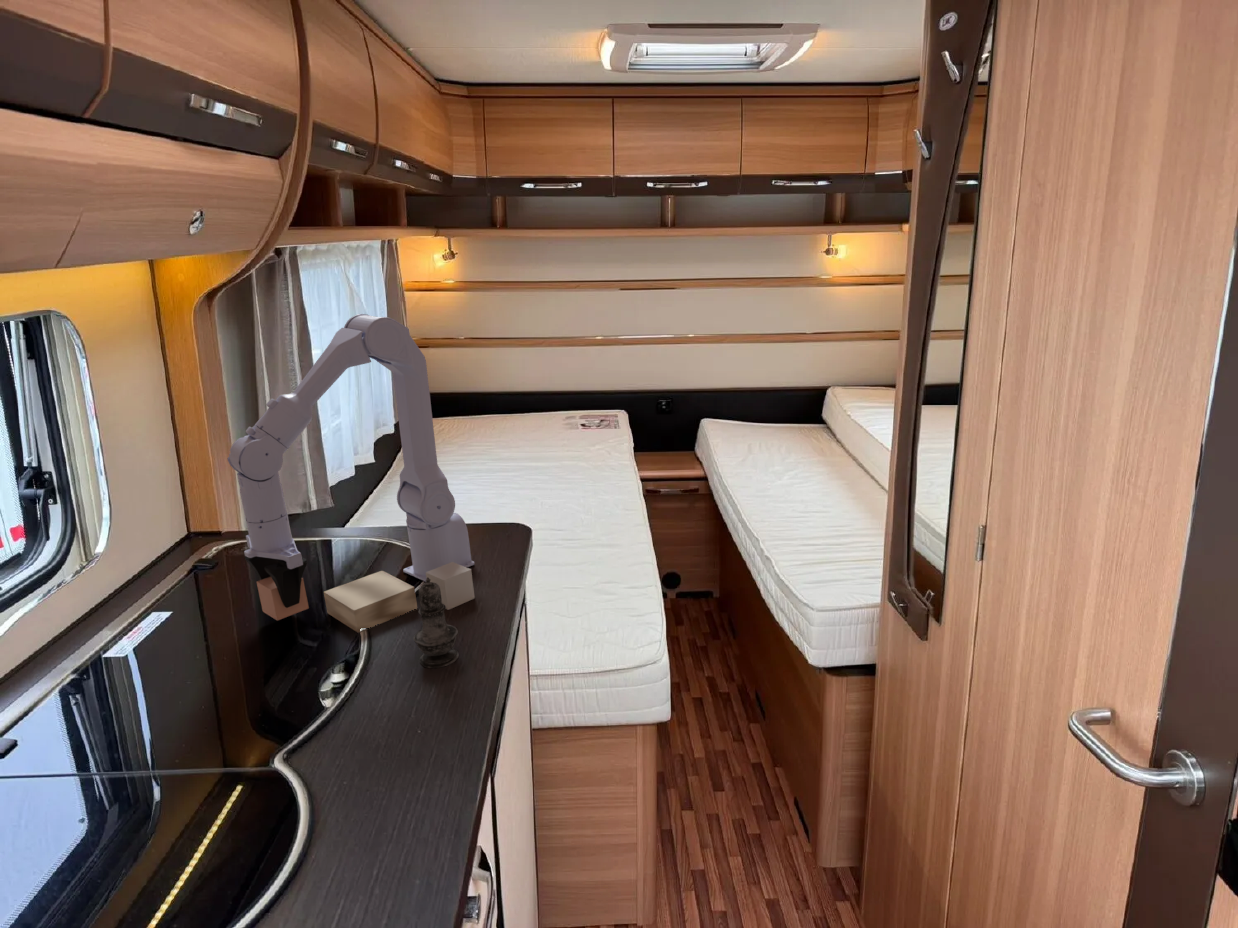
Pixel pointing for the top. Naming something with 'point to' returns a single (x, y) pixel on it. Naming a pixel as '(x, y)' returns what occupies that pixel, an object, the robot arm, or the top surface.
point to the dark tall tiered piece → (435, 629)
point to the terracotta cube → (278, 600)
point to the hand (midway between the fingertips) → (283, 599)
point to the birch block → (370, 600)
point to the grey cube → (453, 584)
